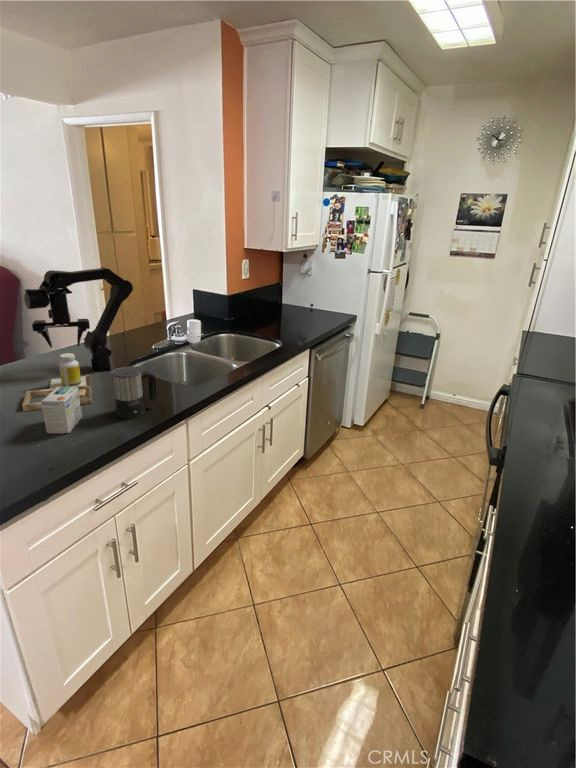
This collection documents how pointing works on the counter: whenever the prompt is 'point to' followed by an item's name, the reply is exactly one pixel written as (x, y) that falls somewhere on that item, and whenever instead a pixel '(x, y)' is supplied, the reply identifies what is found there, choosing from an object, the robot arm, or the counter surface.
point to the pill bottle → (69, 370)
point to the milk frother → (132, 391)
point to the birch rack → (46, 392)
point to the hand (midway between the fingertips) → (65, 346)
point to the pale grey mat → (58, 382)
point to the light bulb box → (61, 409)
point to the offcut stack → (82, 393)
